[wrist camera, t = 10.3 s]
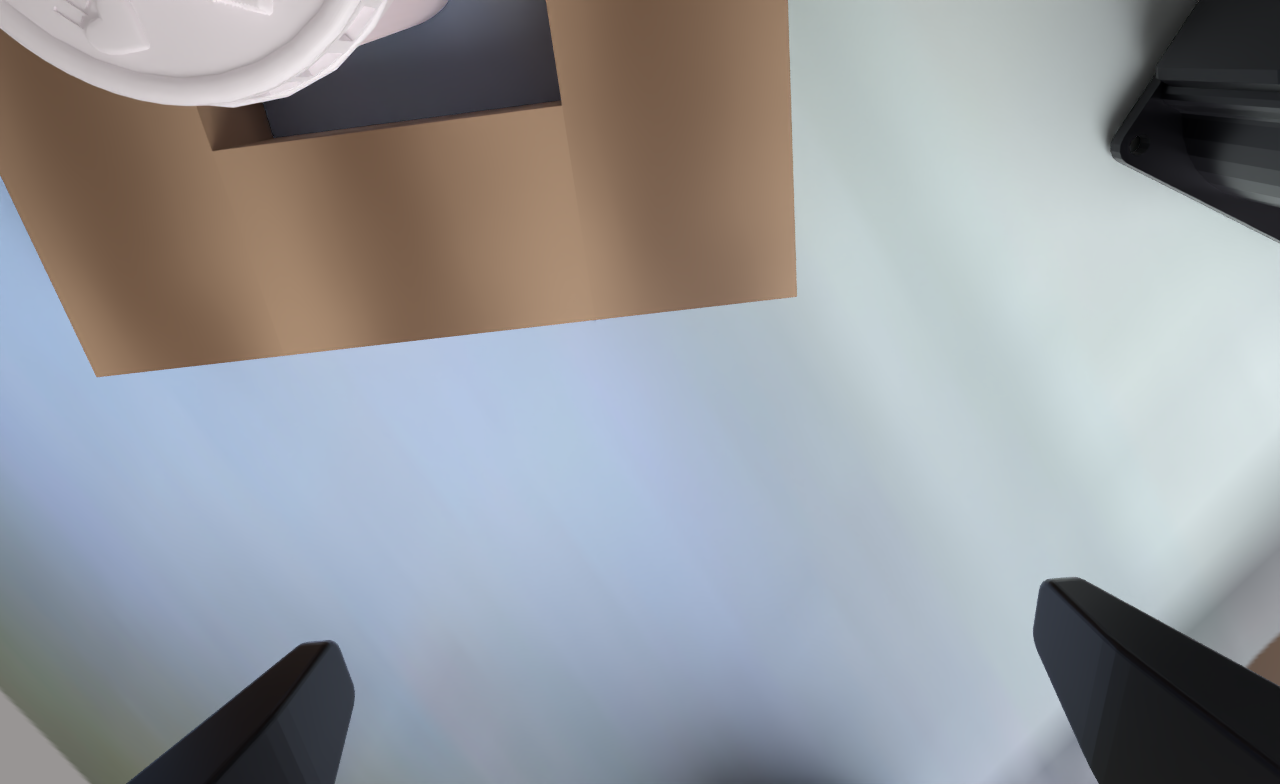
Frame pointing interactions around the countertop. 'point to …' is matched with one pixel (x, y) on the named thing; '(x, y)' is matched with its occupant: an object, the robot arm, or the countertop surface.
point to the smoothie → (205, 43)
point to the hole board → (418, 198)
